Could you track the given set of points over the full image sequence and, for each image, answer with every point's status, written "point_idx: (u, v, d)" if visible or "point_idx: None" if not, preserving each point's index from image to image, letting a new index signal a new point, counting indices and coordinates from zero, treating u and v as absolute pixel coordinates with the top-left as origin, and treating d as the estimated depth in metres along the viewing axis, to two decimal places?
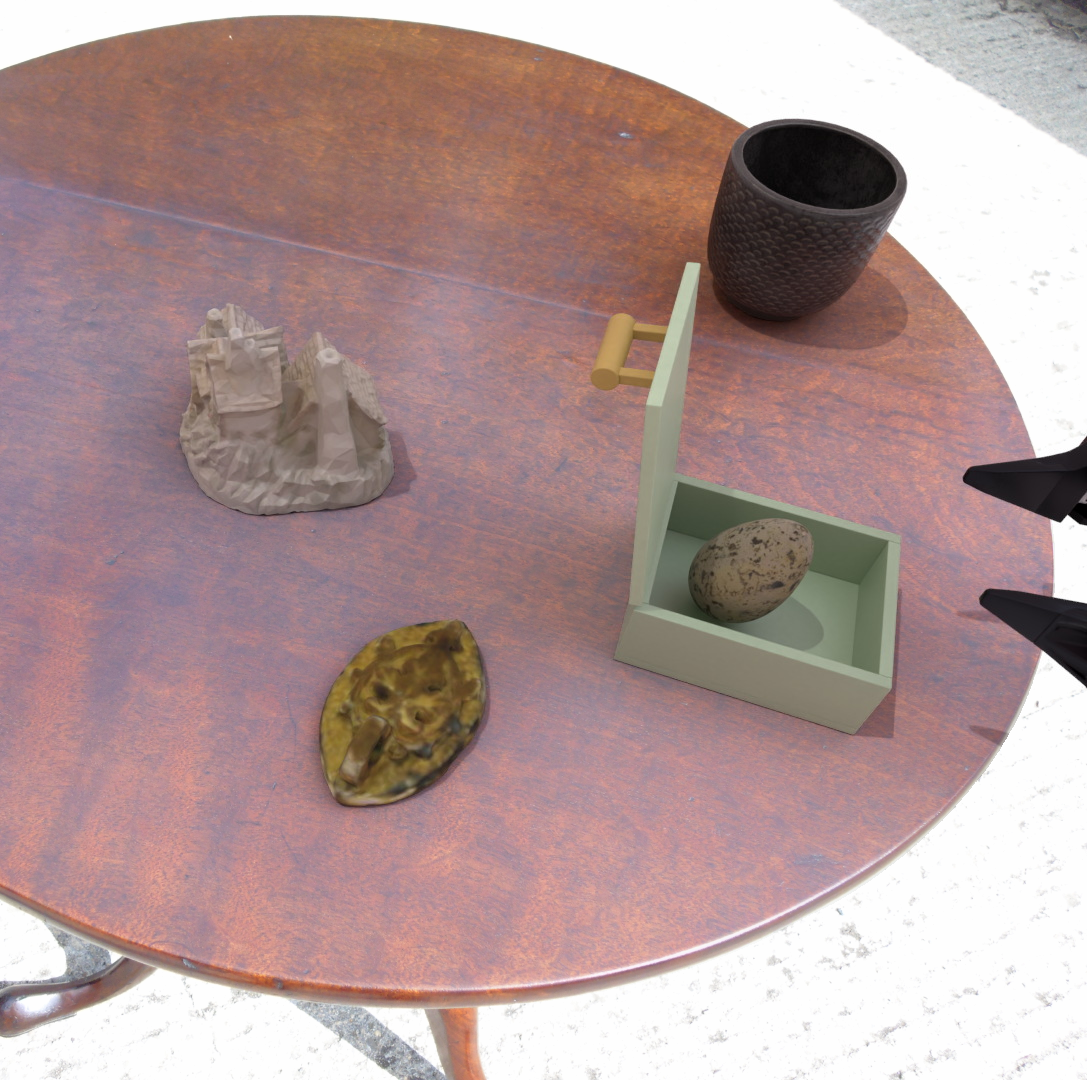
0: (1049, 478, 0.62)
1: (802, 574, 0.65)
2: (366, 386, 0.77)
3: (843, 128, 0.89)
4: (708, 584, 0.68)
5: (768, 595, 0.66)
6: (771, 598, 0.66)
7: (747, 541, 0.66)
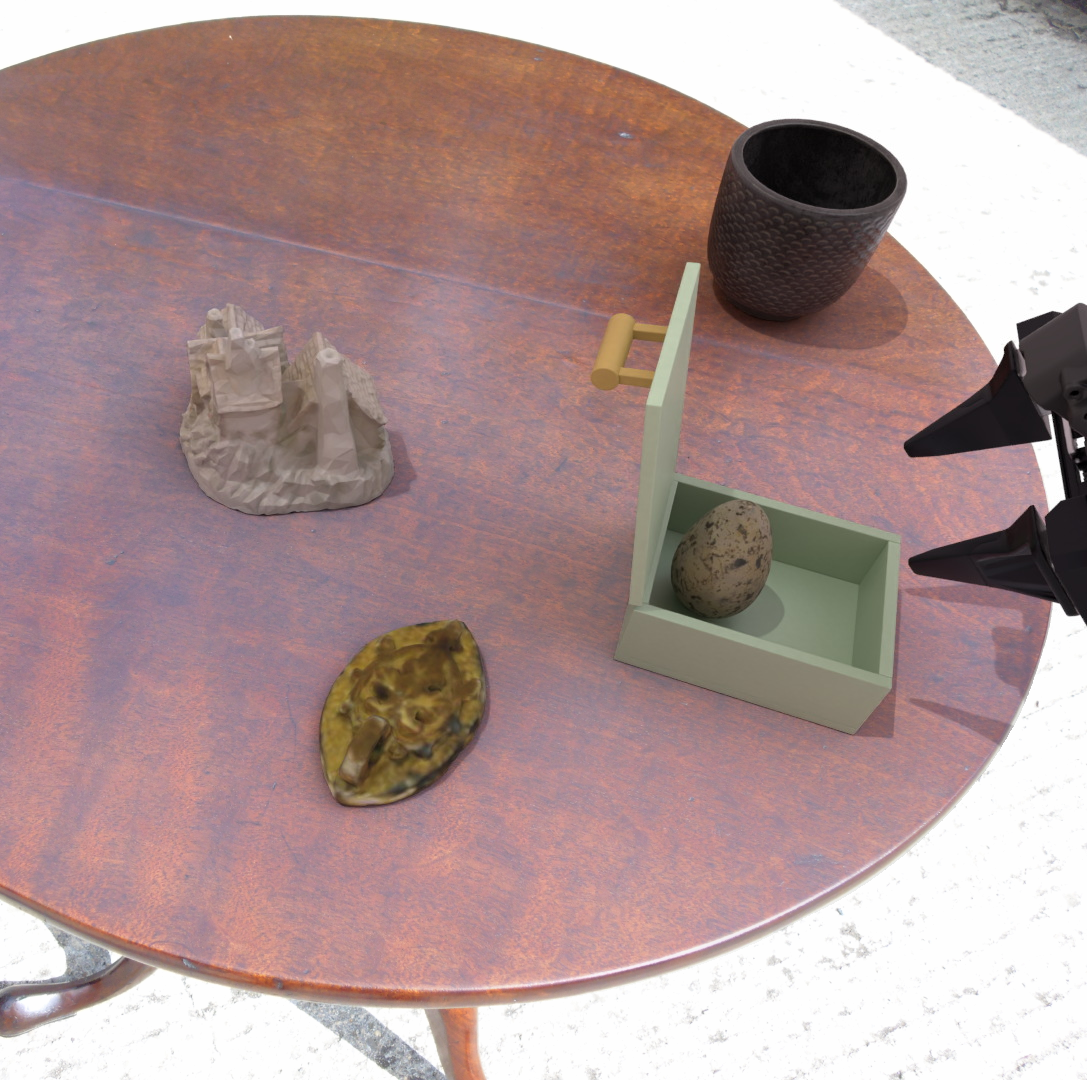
0: (980, 416, 0.61)
1: (763, 548, 0.66)
2: (366, 386, 0.77)
3: (843, 128, 0.89)
4: (682, 580, 0.69)
5: (736, 576, 0.66)
6: (740, 579, 0.67)
7: (702, 528, 0.67)
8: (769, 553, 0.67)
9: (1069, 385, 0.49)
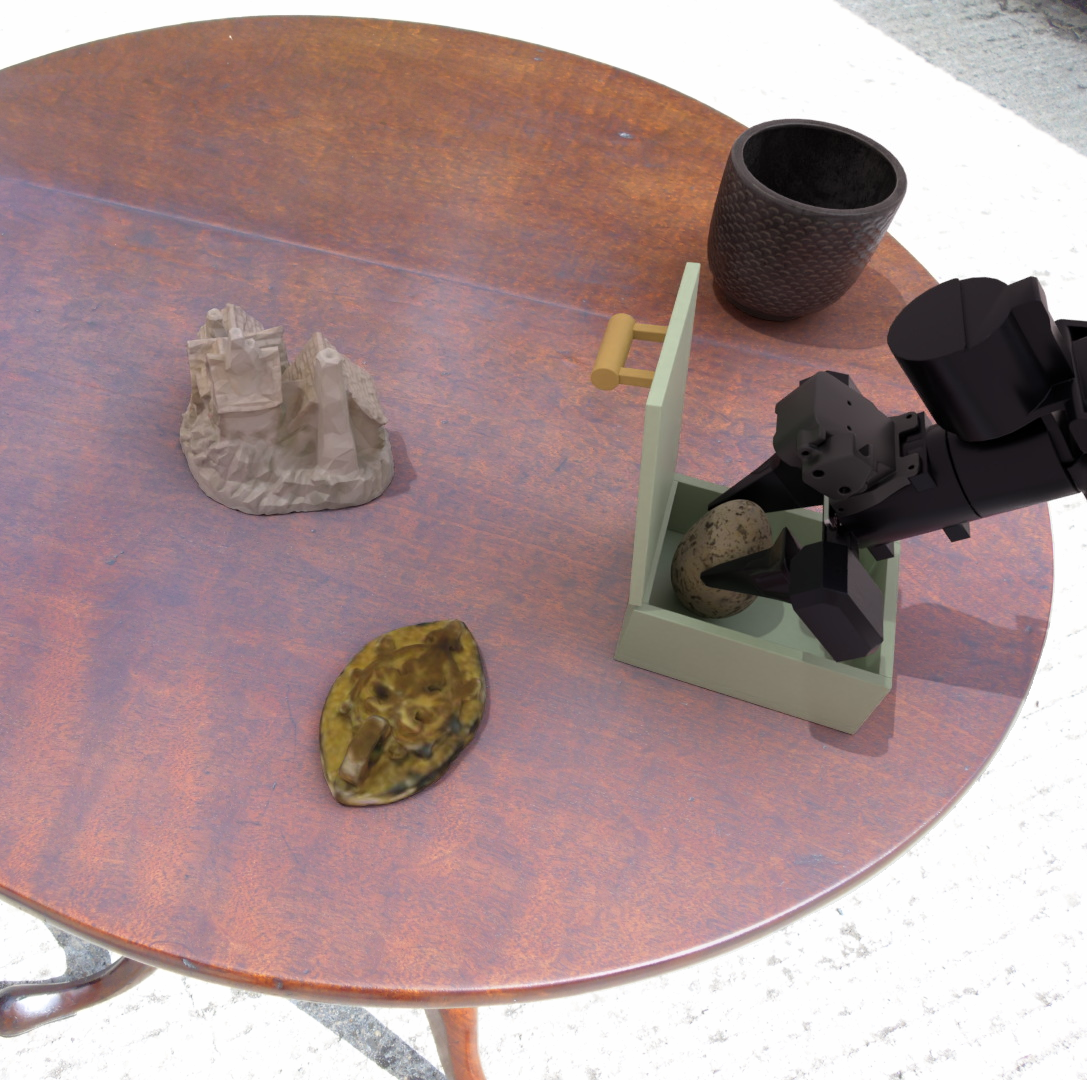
0: (769, 482, 0.67)
1: (763, 548, 0.66)
2: (366, 386, 0.77)
3: (843, 128, 0.89)
4: (682, 580, 0.69)
5: None
6: None
7: (701, 528, 0.67)
8: None
9: (800, 446, 0.56)
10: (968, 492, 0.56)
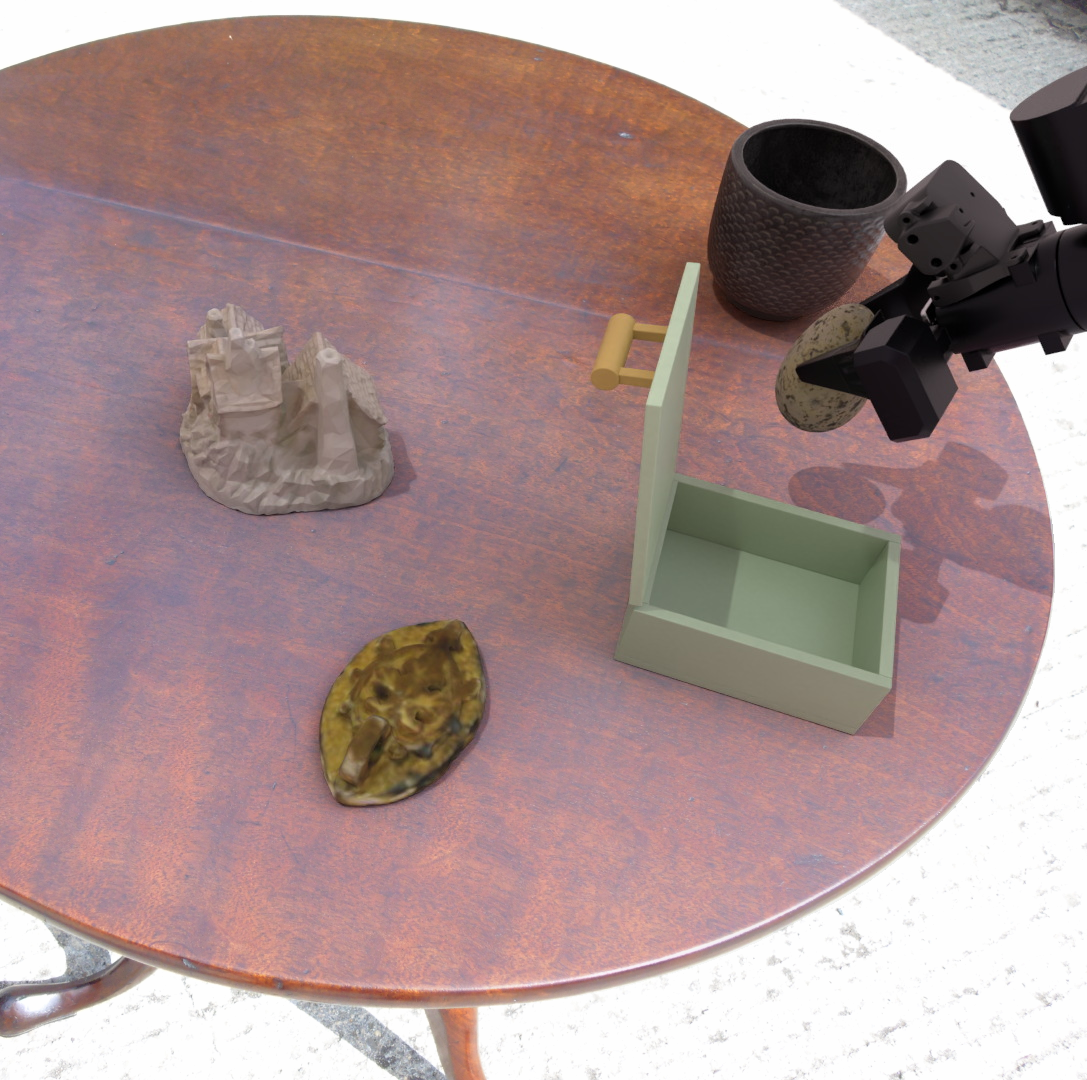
0: (893, 299, 0.69)
1: None
2: (366, 386, 0.77)
3: (843, 128, 0.89)
4: (782, 379, 0.72)
5: None
6: None
7: (811, 326, 0.70)
8: None
9: (903, 212, 0.59)
10: (1065, 289, 0.56)
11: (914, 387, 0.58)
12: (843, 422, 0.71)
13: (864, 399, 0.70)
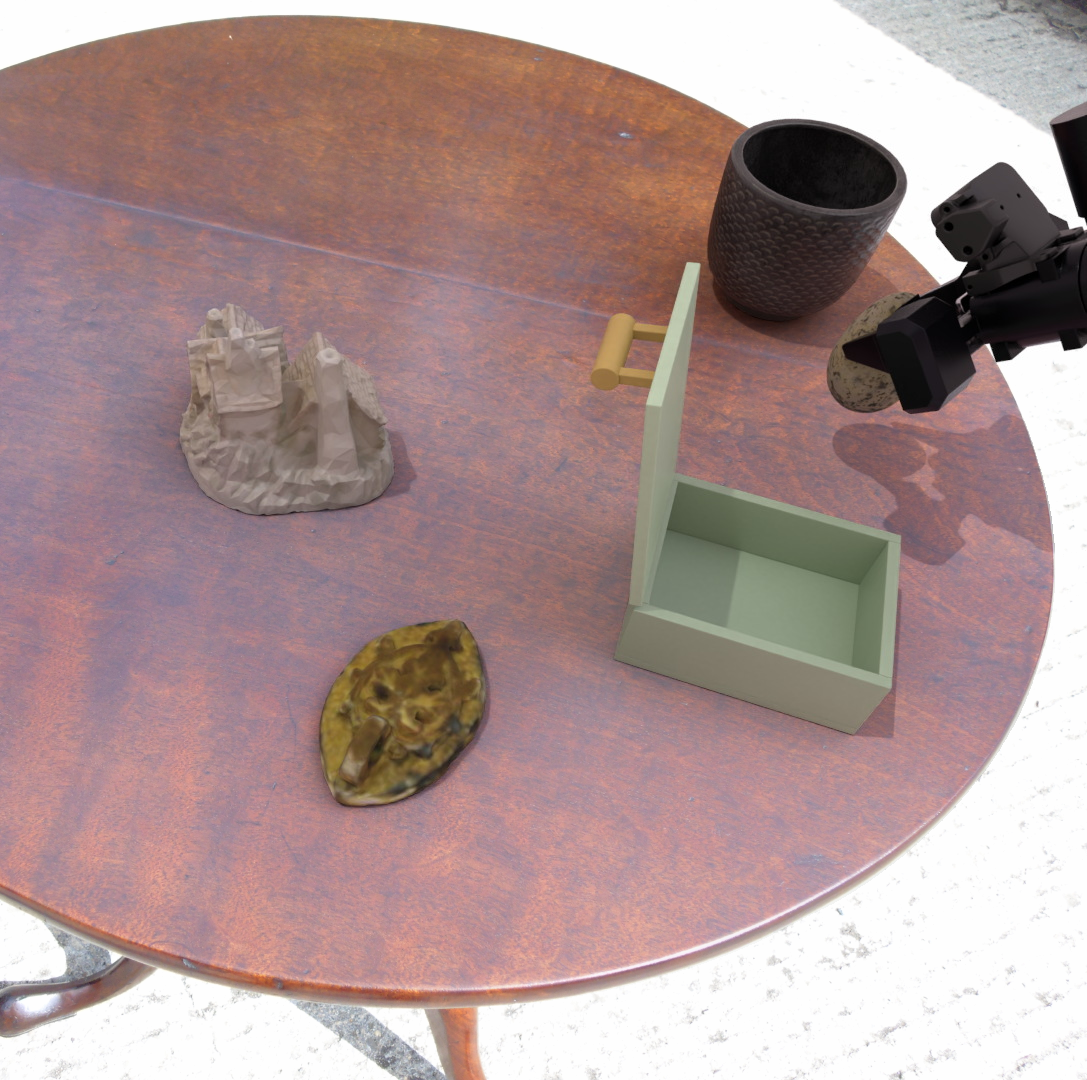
0: (947, 294, 0.74)
1: None
2: (366, 386, 0.77)
3: (843, 128, 0.89)
4: (832, 357, 0.77)
5: None
6: None
7: (865, 310, 0.75)
8: None
9: (944, 202, 0.64)
10: (1083, 287, 0.61)
11: (927, 360, 0.64)
12: (884, 404, 0.76)
13: None
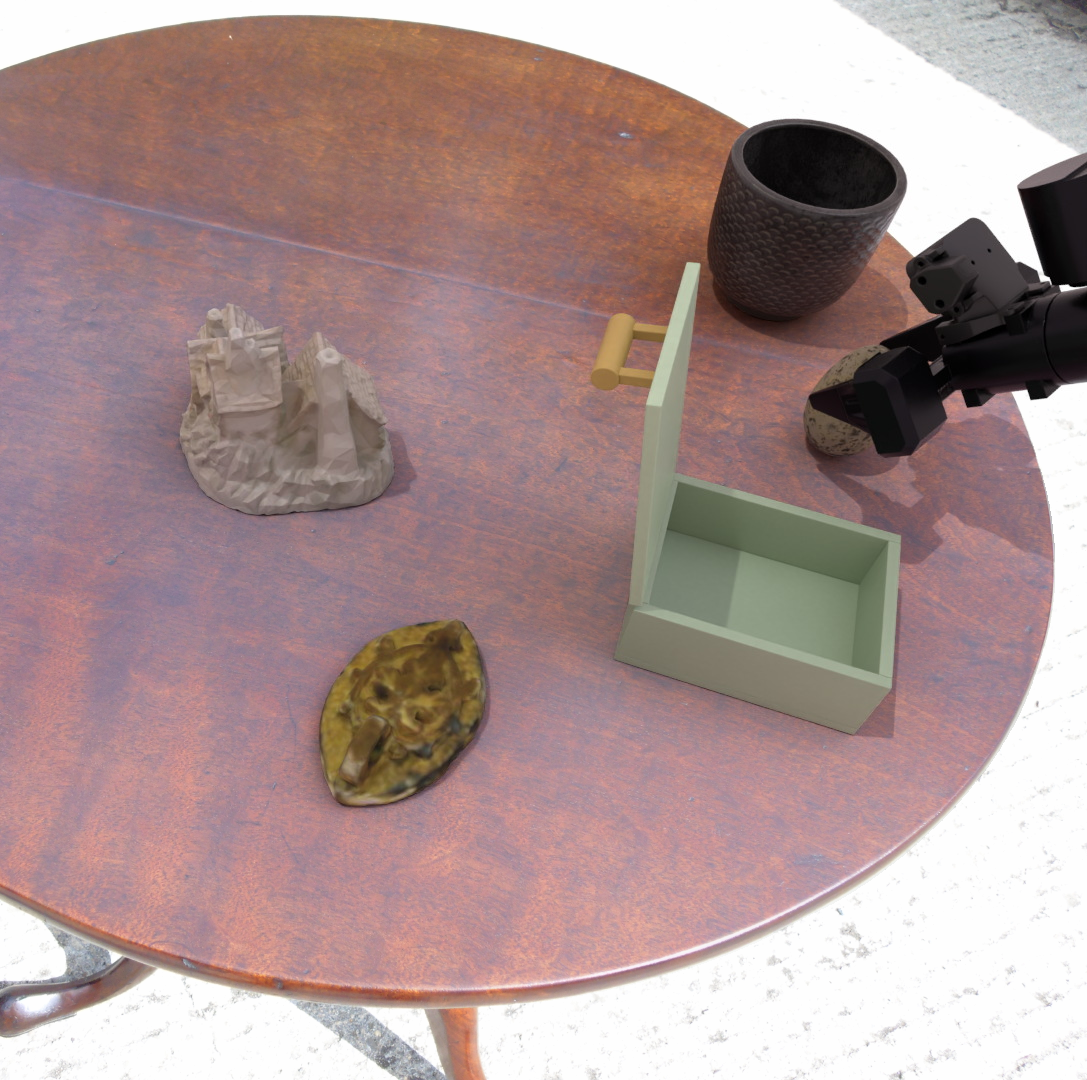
0: (935, 328, 0.77)
1: None
2: (366, 386, 0.77)
3: (843, 128, 0.89)
4: (808, 403, 0.81)
5: None
6: None
7: None
8: None
9: (918, 256, 0.67)
10: (1048, 341, 0.64)
11: (900, 408, 0.67)
12: (857, 450, 0.80)
13: None
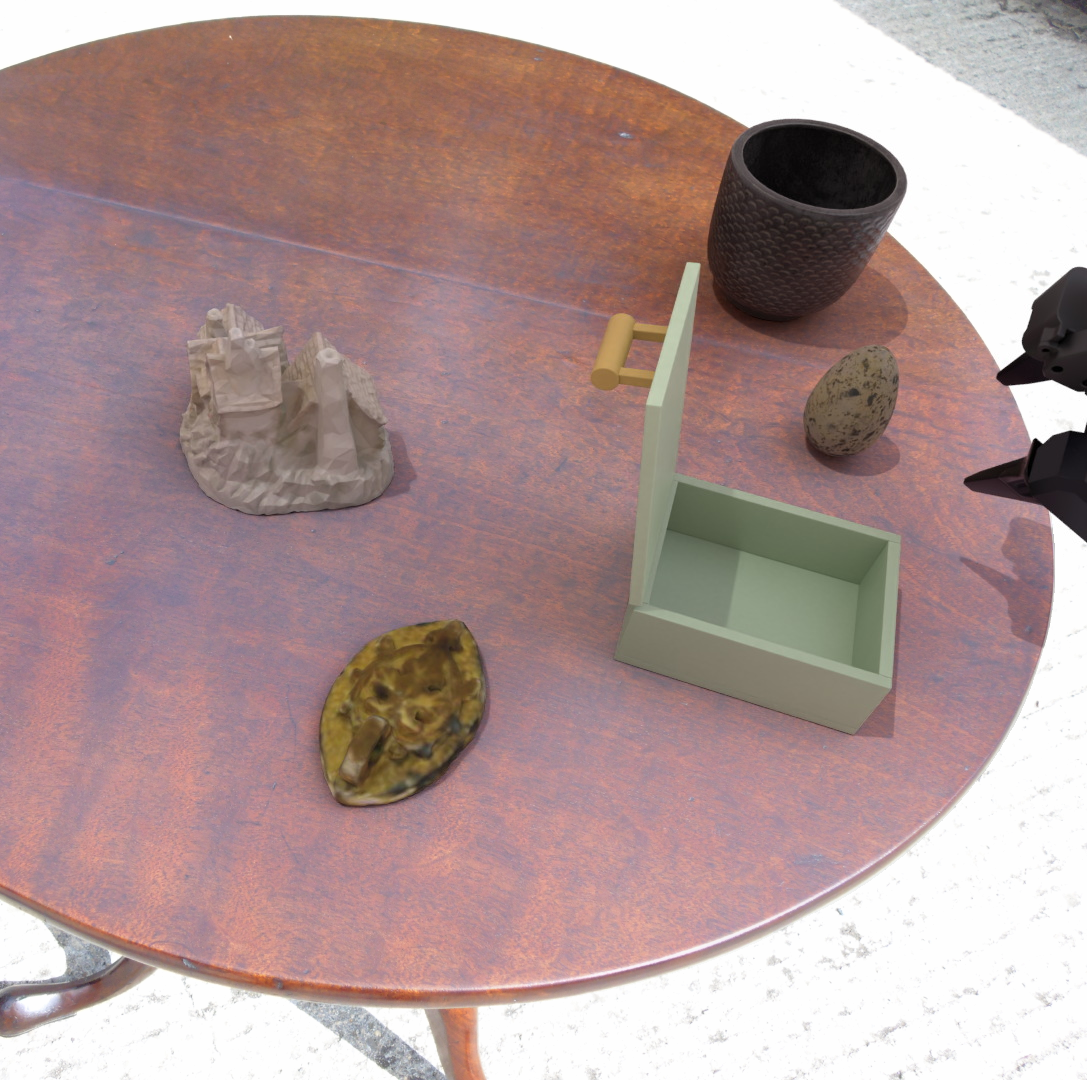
0: None
1: (879, 388, 0.76)
2: (366, 386, 0.77)
3: (843, 128, 0.89)
4: (808, 403, 0.81)
5: (847, 405, 0.78)
6: (850, 409, 0.78)
7: None
8: (885, 398, 0.77)
9: (1040, 344, 0.61)
10: None
11: None
12: (857, 449, 0.80)
13: (877, 432, 0.79)
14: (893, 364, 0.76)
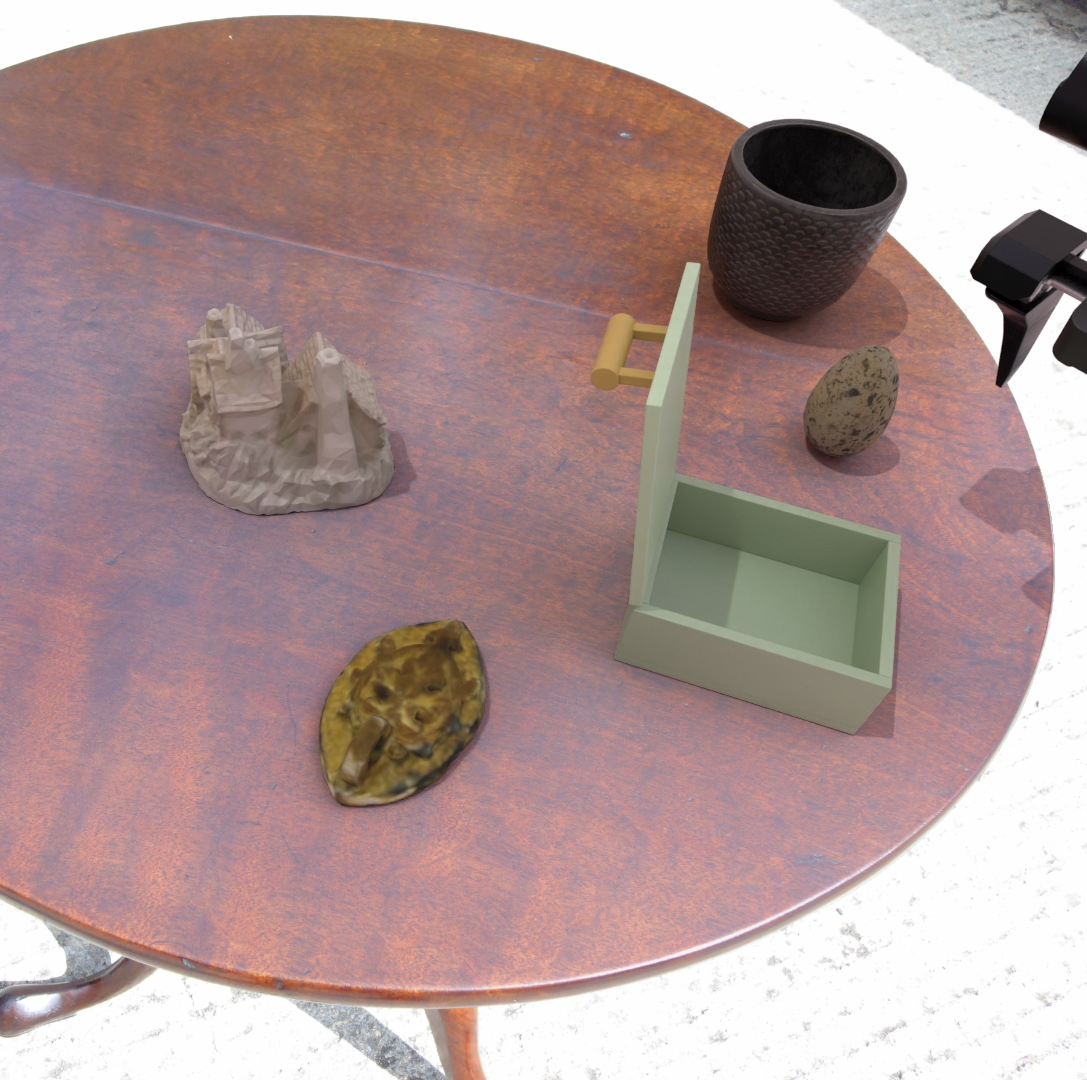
0: (1028, 334, 0.66)
1: (879, 388, 0.76)
2: (366, 386, 0.77)
3: (843, 128, 0.89)
4: (808, 403, 0.81)
5: (847, 405, 0.78)
6: (850, 409, 0.78)
7: None
8: (885, 398, 0.77)
9: None
10: None
11: None
12: (857, 450, 0.80)
13: (877, 432, 0.79)
14: (893, 364, 0.76)
